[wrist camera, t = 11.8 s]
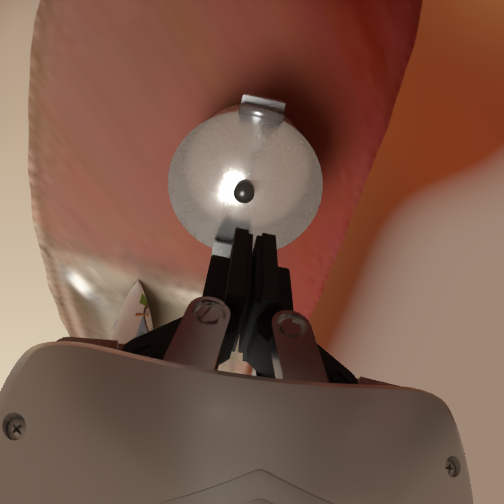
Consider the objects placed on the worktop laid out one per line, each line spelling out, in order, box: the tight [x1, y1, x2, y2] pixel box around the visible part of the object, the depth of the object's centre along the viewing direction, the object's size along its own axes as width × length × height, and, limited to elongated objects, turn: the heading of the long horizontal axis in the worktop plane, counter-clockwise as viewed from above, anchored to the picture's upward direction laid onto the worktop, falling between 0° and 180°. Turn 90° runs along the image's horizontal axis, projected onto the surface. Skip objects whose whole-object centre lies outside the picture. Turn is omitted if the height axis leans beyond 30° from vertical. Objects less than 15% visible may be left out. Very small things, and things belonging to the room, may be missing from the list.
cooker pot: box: [209, 93, 297, 129], centre depth 44 cm, size 27×18×12 cm, turn 168°
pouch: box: [109, 280, 153, 344], centre depth 60 cm, size 8×19×20 cm, turn 170°
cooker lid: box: [168, 103, 323, 258], centre depth 37 cm, size 26×19×3 cm
